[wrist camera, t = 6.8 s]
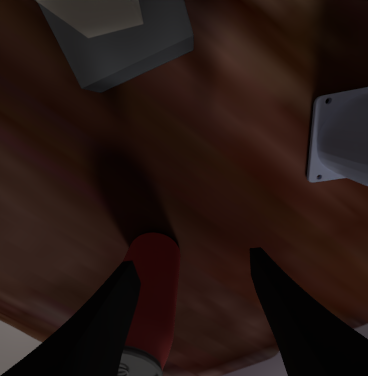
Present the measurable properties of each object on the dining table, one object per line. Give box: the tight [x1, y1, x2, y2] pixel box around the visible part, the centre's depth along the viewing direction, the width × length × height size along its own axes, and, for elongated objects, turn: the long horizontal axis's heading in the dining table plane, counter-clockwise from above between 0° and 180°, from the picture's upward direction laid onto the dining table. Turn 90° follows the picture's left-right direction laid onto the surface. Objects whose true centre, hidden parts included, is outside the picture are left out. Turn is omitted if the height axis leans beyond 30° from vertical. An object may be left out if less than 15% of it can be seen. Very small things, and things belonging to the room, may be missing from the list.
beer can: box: [117, 232, 180, 376], centre depth 18 cm, size 7×7×12 cm
